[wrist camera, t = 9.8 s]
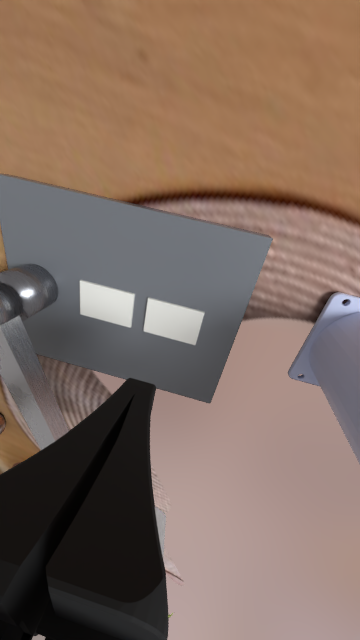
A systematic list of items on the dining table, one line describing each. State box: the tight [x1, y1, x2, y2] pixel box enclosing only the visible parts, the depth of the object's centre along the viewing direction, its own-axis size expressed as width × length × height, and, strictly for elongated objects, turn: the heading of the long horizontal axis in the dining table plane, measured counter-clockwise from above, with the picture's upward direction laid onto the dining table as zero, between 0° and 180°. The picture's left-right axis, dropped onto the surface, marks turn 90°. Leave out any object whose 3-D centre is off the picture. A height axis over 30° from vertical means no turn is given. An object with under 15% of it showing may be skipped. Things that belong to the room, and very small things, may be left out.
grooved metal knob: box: [0, 264, 58, 321], centre depth 18 cm, size 4×4×4 cm
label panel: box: [0, 174, 273, 403], centre depth 19 cm, size 19×15×2 cm
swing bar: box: [0, 282, 69, 450], centre depth 18 cm, size 18×3×2 cm, turn 5°
